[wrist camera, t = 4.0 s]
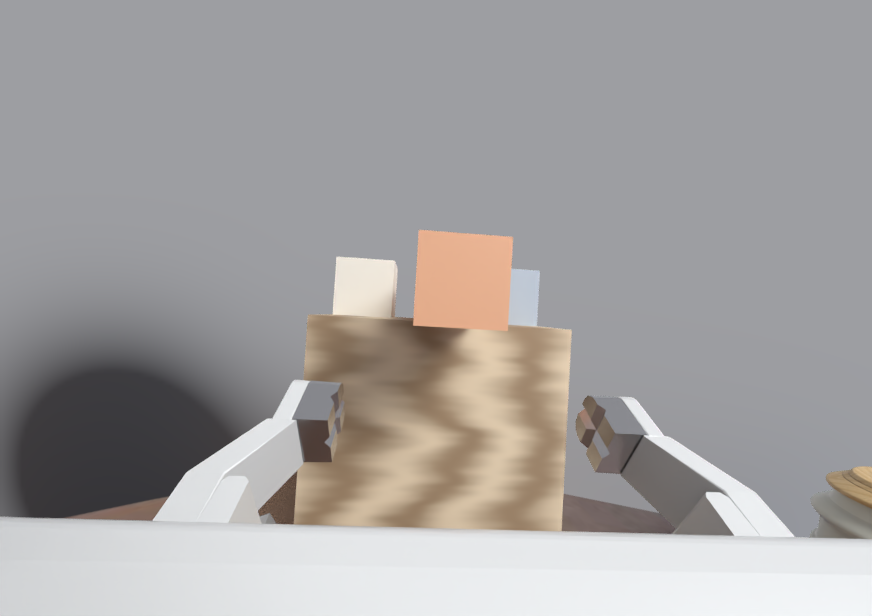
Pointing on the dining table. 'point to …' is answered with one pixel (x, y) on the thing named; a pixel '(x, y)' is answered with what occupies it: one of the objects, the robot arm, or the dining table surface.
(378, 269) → the cube cream
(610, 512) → the dining table surface
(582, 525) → the dining table surface
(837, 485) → the jar
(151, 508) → the dining table surface
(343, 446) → the oak stand
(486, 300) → the bar terracotta
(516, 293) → the cube slate
